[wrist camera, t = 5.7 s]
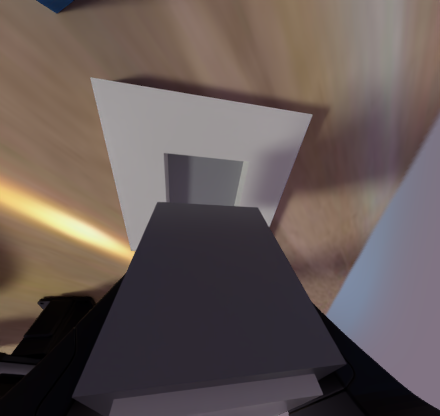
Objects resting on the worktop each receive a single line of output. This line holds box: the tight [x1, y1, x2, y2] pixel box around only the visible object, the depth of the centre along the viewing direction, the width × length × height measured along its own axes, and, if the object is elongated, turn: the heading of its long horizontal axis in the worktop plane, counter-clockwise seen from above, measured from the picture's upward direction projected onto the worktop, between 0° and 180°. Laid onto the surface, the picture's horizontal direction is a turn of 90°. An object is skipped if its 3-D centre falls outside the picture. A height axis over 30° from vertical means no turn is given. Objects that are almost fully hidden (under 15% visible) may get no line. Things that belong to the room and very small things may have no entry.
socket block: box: [90, 77, 313, 251], centre depth 15 cm, size 14×14×2 cm
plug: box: [72, 202, 347, 416], centre depth 7 cm, size 5×5×6 cm
